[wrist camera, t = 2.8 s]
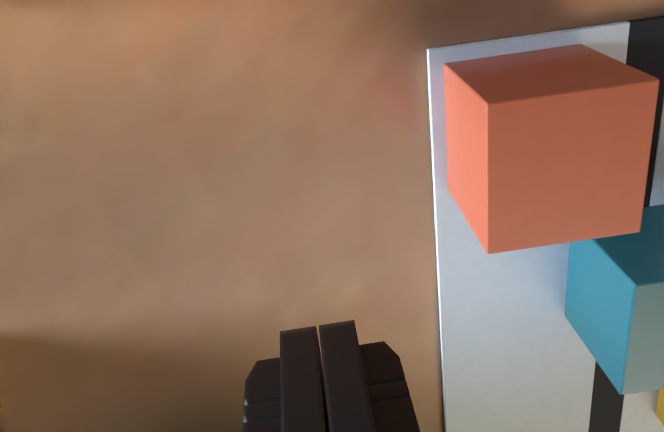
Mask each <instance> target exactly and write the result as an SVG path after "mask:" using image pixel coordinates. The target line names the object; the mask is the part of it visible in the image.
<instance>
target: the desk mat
mask: <svg viewBox="0 0 664 432" xmlns="http://www.w3.org/2000/svg"><path fill="white" fill-rule="evenodd" d="M577 44H583V45H585V46H587V47H589V48H591V49H594V50H596V51H598V52H600V53H603V54H605V55H607V56H609V57H611V58H614V59H616V60H618V61H620V62H623V63H625V64H627V65H629V66H631V67H634V68H636V69H638V70H640V71H642V72H645V73H647V74H649V75H651V76H654V77H656V78H658V79H659V81H660V82H659V90H658V97H657V105H656V113H655V121H654V128H653V136H652V144H651V152H650V160H649V167H648V175H647V183H646V191H645V198H644V206H643V207H649V206H655V205H662V204H664V16H658V17H651V18H644V19H637V20H630V21H623V22H615V23H608V24H601V25H594V26H587V27H580V28H573V29H566V30H558V31H551V32H544V33H537V34H530V35H523V36H516V37H509V38H502V39H494V40H487V41H480V42H473V43H466V44H459V45H452V46H445V47H437V48H430V49H427V67H428V88H429V109H430V130H431V151H432V171H433V192H434V213H435V234H436V255H437V275H438V296H439V317H440V338H441V358H442V379H443V400H444V421H445V432H664V425H663V424H662V423H661V421H660V420H659V419H658V417H657V416H656V414H655V413H656V407H657V401H658V395H659V389H657V390H651V391H644V392H637V393H631V394H624V395H620V394H619V392H618V391H617V390H616V388H615V387H614V385H613V384H612V383H611V381H610V380H609V378H608V377H607V375H606V374H605V373H604V371H603V370H602V368H601V367H600V365H599V364H598V363H597V361H596V360H595V358H594V357H593V356H592V354H591V353H590V351H589V350H588V348H587V347H586V346H585V344H584V343H583V341H582V340H581V339H580V337H579V336H578V334H577V333H576V331H575V330H574V329H573V327H572V326H571V324H570V323H569V321H568V320H567V319H566V317H565V301H566V286H567V272H568V257H569V242H568V243H562V244H555V245H548V246H541V247H534V248H528V249H521V250H514V251H507V252H500V253H494V254H487V253H486V251H485V250H484V248H483V246H482V245H481V243H480V242H479V240H478V238H477V237H476V235H475V233H474V232H473V230H472V228H471V227H470V225H469V223H468V222H467V220H466V218H465V217H464V215H463V214H462V212H461V210H460V209H459V207H458V205H457V204H456V202H455V200H454V199H453V197H452V195H451V194H450V192H449V191H448V177H447V149H446V122H445V94H444V66H443V65H444V64H445V63H449V62H456V61H463V60H471V59H478V58H485V57H492V56H499V55H506V54H513V53H520V52H527V51H534V50H541V49H549V48H556V47H563V46H570V45H577Z"/></svg>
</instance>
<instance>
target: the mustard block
mask: <svg viewBox="0 0 664 432" xmlns="http://www.w3.org/2000/svg"><path fill="white" fill-rule="evenodd" d="M655 414H656V416H657V417H658V419H659V420H660V421H661V423H662V424H663V425H664V389H659V395H658V401H657V407H656V413H655Z"/></svg>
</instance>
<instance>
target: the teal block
mask: <svg viewBox="0 0 664 432" xmlns="http://www.w3.org/2000/svg"><path fill="white" fill-rule="evenodd" d="M565 317H566V319H567V320H568V321H569V323H570V324H571V326H572V327H573V329H574V330H575V331H576V333H577V334H578V336H579V337H580V339H581V340H582V341H583V343H584V344H585V346H586V347H587V348H588V350H589V351H590V353H591V354H592V356H593V357H594V358H595V360H596V361H597V363H598V364H599V365H600V367H601V368H602V370H603V371H604V373H605V374H606V375H607V377H608V378H609V380H610V381H611V383H612V384H613V385H614V387H615V388H616V390H617V391H618V392H619V394H620V395H624V394H631V393H637V392H644V391H651V390H657V389H664V204H662V205H655V206H649V207H643V214H642V222H641V230H640V232H637V233H630V234H623V235H616V236H609V237H603V238H596V239H589V240H582V241H575V242H569V257H568V272H567V286H566V301H565Z"/></svg>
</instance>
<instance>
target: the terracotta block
mask: <svg viewBox="0 0 664 432" xmlns="http://www.w3.org/2000/svg"><path fill="white" fill-rule="evenodd" d="M443 66H444V94H445V122H446V149H447V177H448V191H449V192H450V194H451V195H452V197H453V199H454V200H455V202H456V204H457V205H458V207H459V209H460V210H461V212H462V214H463V215H464V217H465V218H466V220H467V222H468V223H469V225H470V227H471V228H472V230H473V232H474V233H475V235H476V237H477V238H478V240H479V242H480V243H481V245H482V246H483V248H484V250H485V251H486V253H487V254H494V253H500V252H507V251H514V250H521V249H528V248H534V247H541V246H548V245H555V244H562V243H568V242H575V241H582V240H589V239H596V238H603V237H609V236H616V235H623V234H630V233H637V232H640V230H641V222H642V214H643V206H644V198H645V191H646V183H647V175H648V167H649V160H650V152H651V144H652V136H653V128H654V121H655V113H656V105H657V97H658V90H659V82H660V81H659V79H658V78H656V77H654V76H651V75H649V74H647V73H645V72H642V71H640V70H638V69H636V68H634V67H631V66H629V65H627V64H625V63H623V62H620V61H618V60H616V59H614V58H611V57H609V56H607V55H605V54H603V53H600V52H598V51H596V50H594V49H591V48H589V47H587V46H585V45H583V44H577V45H570V46H563V47H556V48H549V49H541V50H534V51H527V52H520V53H513V54H506V55H499V56H492V57H485V58H478V59H471V60H463V61H456V62H449V63H445V64H444V65H443Z"/></svg>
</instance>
